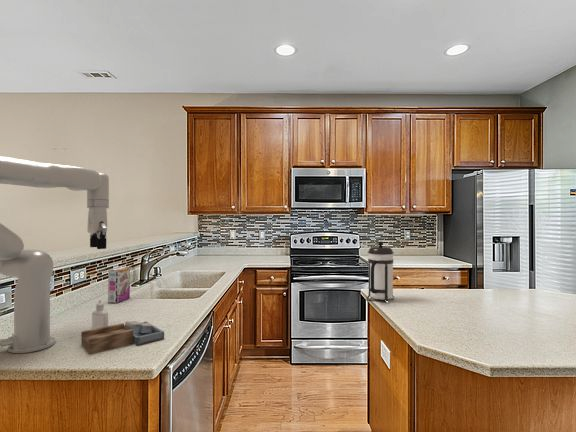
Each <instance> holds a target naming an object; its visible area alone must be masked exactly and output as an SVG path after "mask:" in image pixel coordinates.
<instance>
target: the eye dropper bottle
mask: <svg viewBox="0 0 576 432" xmlns="http://www.w3.org/2000/svg"><path fill="white" fill-rule="evenodd" d="M95 306H96V307H95V308H96V309H95V310H94V311H92V313H91V329H96V328H101V327H106V326H109V312H108V311H107V310H105V303H103V302H102V300H101V299H100V300H99V299H98V303H96V305H95Z"/></svg>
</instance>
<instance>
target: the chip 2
mask: <svg viewBox="0 0 576 432" xmlns="http://www.w3.org/2000/svg"><path fill="white" fill-rule="evenodd" d="M140 323H141V324H142V327H141V331H139V332H140V333H152V332H153V324H152V323H150V322H148V323H142V322H140Z"/></svg>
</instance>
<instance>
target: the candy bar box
mask: <svg viewBox="0 0 576 432" xmlns="http://www.w3.org/2000/svg"><path fill="white" fill-rule="evenodd" d="M107 279H108V285H107V286H108V288H107V289H108V290H107V293H108V294H107V303H108V304H118V303H121V302H124V301H126V300H128V299H130V298H131V291H130V290H131V287H130V286H131V267H129V266H128V267H127V266H121V267H117V268H112V269H108V278H107Z"/></svg>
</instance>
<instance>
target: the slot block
mask: <svg viewBox="0 0 576 432" xmlns="http://www.w3.org/2000/svg"><path fill="white" fill-rule="evenodd" d="M124 326H125V323H122V322H121V323H118V324H117V323H116V324H112V325H111V324H110V325H108V326H106V327H101V328H96V329H92V328H91V329H88V330H83V331H82V330H81V331H80V332H81V335H80V336H81V338H80V339H81V341H80V343H81V346H82V348H83V349H84V350H85V351H86V352H87V353H88V355H93V354H97V353H100V352H101V353H102V352H105V351H109V350H112V349H113V350H114V349H118V348H121V347H125V346H129V345H133V344H134V343H133V330H132V329H130V330H125V329H124Z"/></svg>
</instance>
